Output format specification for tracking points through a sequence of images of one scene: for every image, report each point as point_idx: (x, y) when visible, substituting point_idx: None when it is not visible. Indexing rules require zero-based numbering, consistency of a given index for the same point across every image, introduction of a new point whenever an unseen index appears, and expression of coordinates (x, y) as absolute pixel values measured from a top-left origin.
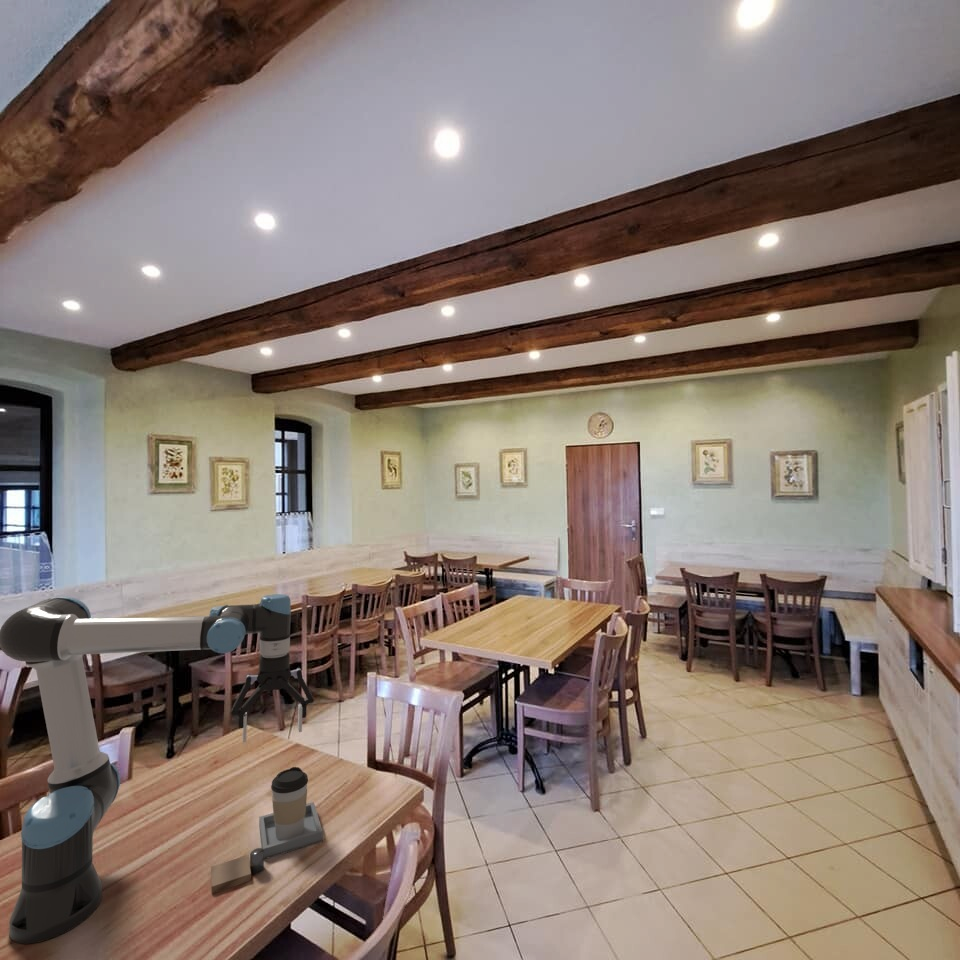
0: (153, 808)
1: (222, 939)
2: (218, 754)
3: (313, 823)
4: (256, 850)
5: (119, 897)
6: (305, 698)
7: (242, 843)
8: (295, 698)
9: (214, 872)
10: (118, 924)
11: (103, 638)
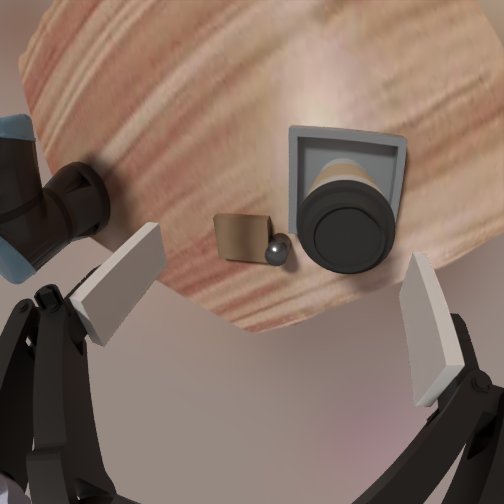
0: (114, 7)
1: (241, 318)
2: None
3: (390, 184)
4: (274, 251)
5: (123, 201)
6: (484, 412)
7: (260, 163)
8: (387, 469)
9: (219, 233)
10: None
11: None
